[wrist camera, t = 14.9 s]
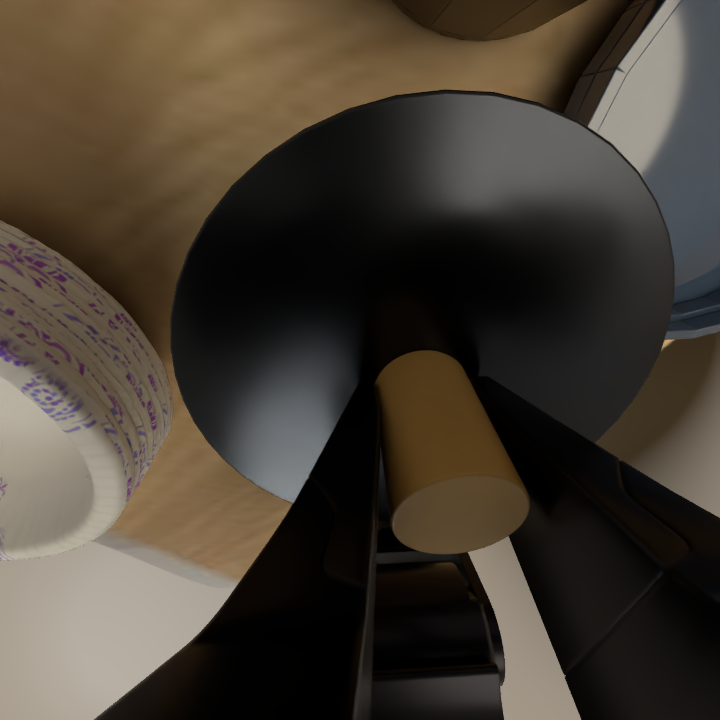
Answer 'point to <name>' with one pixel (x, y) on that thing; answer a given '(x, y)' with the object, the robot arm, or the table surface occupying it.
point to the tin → (484, 16)
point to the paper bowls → (69, 402)
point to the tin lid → (423, 300)
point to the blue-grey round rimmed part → (668, 135)
